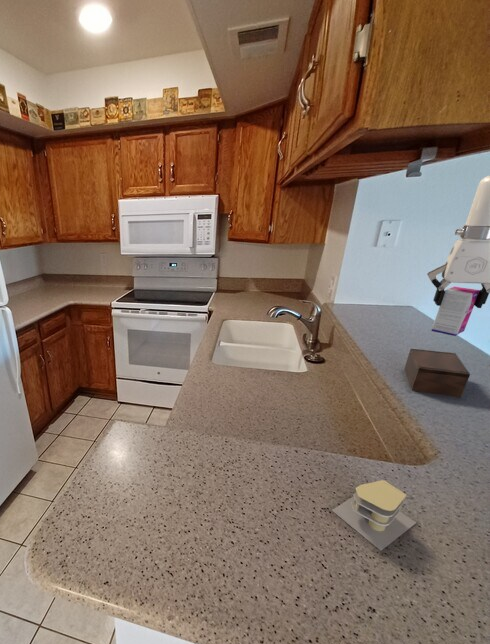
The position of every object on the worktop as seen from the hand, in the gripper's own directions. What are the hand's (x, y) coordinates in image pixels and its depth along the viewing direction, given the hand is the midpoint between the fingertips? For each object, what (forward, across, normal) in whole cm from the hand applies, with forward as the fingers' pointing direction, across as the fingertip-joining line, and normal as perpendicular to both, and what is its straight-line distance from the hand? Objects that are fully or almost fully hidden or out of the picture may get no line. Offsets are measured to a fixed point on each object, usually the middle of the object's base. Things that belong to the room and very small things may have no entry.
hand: (457, 305), depth 86 cm
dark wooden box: (+23, 0, 0) cm, 23 cm away
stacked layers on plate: (+23, -18, -59) cm, 66 cm away
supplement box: (+8, 0, 0) cm, 8 cm away
